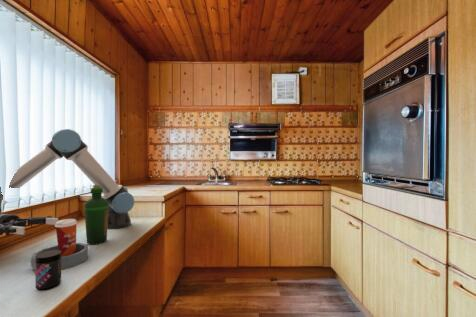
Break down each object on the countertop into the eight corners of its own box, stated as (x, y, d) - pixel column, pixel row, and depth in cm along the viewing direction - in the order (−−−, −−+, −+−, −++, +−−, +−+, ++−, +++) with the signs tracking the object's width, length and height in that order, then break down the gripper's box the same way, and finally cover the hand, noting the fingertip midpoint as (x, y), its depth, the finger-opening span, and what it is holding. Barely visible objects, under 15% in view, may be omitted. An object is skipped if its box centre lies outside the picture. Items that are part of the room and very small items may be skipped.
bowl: (87, 250, 111) (87, 240, 111) (88, 264, 96) (88, 253, 96) (36, 259, 102) (36, 248, 102) (27, 276, 87) (27, 264, 87)
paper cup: (68, 259, 99) (66, 224, 98) (51, 257, 100) (49, 223, 99) (83, 250, 107) (81, 218, 106) (67, 249, 108) (65, 217, 107)
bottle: (114, 240, 125) (113, 184, 125) (95, 247, 115) (95, 186, 115) (98, 238, 129) (97, 183, 129) (78, 244, 119) (78, 186, 119)
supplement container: (34, 285, 80) (34, 253, 80) (60, 279, 85) (60, 248, 85) (35, 294, 75) (35, 259, 75) (62, 286, 80) (62, 254, 80)
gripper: (36, 224, 120) (70, 226, 114) (-33, 241, 96) (6, 245, 90) (35, 208, 120) (69, 210, 114) (-33, 221, 96) (5, 225, 90)
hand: (41, 225), depth 102 cm, fingers open, 13 cm apart
